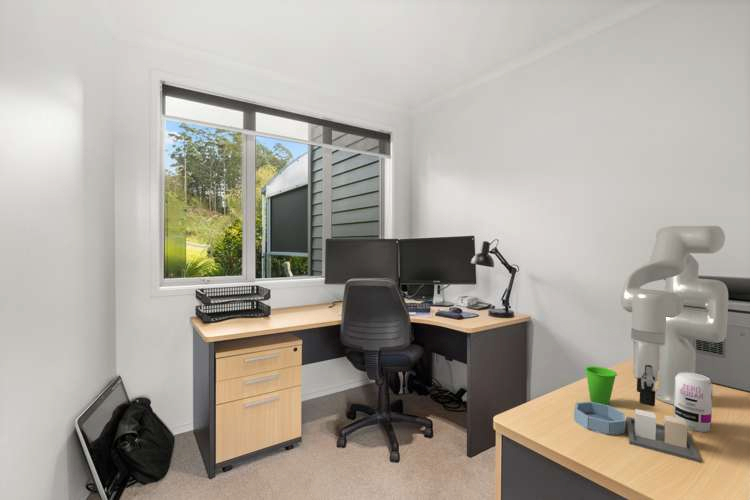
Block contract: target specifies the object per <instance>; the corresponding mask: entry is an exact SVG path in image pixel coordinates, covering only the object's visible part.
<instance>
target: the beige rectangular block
mask: <svg viewBox="0 0 750 500" xmlns="http://www.w3.org/2000/svg"><path fill="white" fill-rule="evenodd" d="M662 425H663V438H664V441H665V443H668V444H672V445H676V446H680V447H684V448H687V431H688V429H687V423H686V421H685V420H684V419H679V418H674V416H670V415H663V424H662Z"/></svg>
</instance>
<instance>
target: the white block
mask: <svg viewBox="0 0 750 500" xmlns="http://www.w3.org/2000/svg"><path fill="white" fill-rule="evenodd" d="M634 418H635V428H634V430H635V435H636V436H640V437H644V438H648V439H652V440H655V438H656V423H657V416H656V414H655V412H651V411H646V410H641V409H638V408H635V409H634Z"/></svg>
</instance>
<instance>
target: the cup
mask: <svg viewBox="0 0 750 500" xmlns="http://www.w3.org/2000/svg"><path fill="white" fill-rule="evenodd" d="M584 370H585V371H586V378H587V385H588V393H589V400H590V402H595V403H599V404H604V405H608V406H610V402H611V398H612V392H613V388H614V383H615V379H616V377H617V376H618V375H617V374H618V373H617V372H616V371H614V370H612V369H610V368H606V367H601V366H594V365H592V366H591V365H590V366H586V367H585V368H584Z"/></svg>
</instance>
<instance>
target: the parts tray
mask: <svg viewBox="0 0 750 500" xmlns="http://www.w3.org/2000/svg"><path fill="white" fill-rule="evenodd" d="M663 425H664V424H660V423H657V422H656V438H655V440H652V439H648V438H644V437H640V436H636V435H635V430H634V428H635V417H630V416H626V426H627V434H628V442H629V445H632V446H636V447H639V448H643V449H647V450H652V451H654V452H659V453H662V454H666V455H669V456H673V457H677V458H681V459H685V460H689V461H692V462H696V463H701V458H700V456H699V453H698V451H697V450H696V447H695V445H694V442H693V440H692V438H691V435H690V433H689V431H688V430H687V448H684V447H680V446H676V445H672V444H668V443H665V441H664V438H663Z"/></svg>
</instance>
